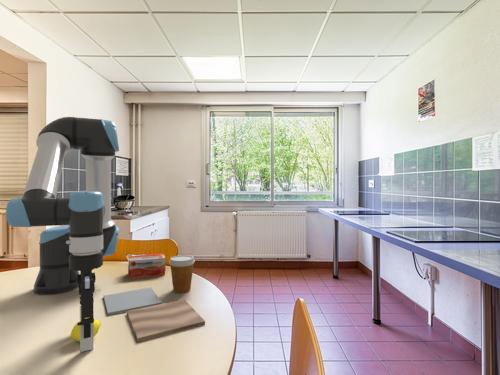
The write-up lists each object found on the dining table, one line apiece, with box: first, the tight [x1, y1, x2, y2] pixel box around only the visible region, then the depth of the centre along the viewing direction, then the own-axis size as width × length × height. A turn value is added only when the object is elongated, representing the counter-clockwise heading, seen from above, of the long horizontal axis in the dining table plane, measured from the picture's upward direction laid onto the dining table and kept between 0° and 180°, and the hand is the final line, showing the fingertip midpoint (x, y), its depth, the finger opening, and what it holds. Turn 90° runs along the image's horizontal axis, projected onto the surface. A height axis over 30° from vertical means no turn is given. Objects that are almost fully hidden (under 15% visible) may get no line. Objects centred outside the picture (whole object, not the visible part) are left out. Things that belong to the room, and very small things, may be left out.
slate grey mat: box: [103, 287, 163, 316], centre depth 97 cm, size 16×16×1 cm
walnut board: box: [126, 299, 206, 343], centre depth 84 cm, size 18×18×1 cm
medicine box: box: [127, 252, 167, 279], centre depth 127 cm, size 15×8×8 cm, turn 111°
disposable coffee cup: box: [168, 254, 196, 293], centre depth 108 cm, size 10×10×12 cm
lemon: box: [70, 318, 102, 343], centre depth 73 cm, size 7×5×5 cm
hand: (86, 338), depth 73 cm, fingers open, 11 cm apart
